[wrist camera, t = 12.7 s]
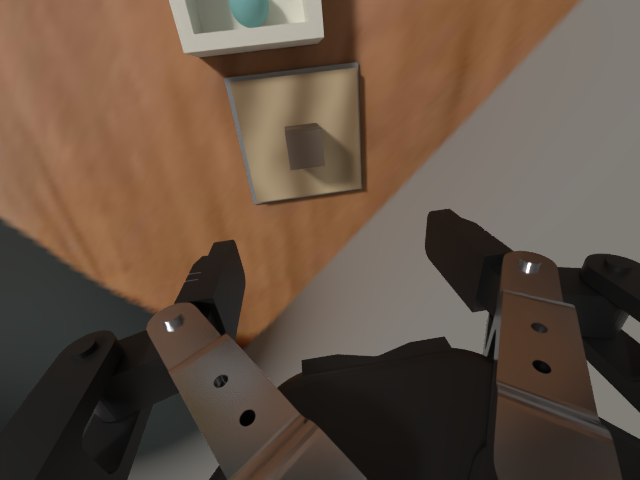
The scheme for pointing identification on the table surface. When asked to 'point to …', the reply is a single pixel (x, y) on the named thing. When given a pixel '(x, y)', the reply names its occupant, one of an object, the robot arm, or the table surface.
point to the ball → (250, 12)
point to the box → (231, 37)
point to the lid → (300, 133)
